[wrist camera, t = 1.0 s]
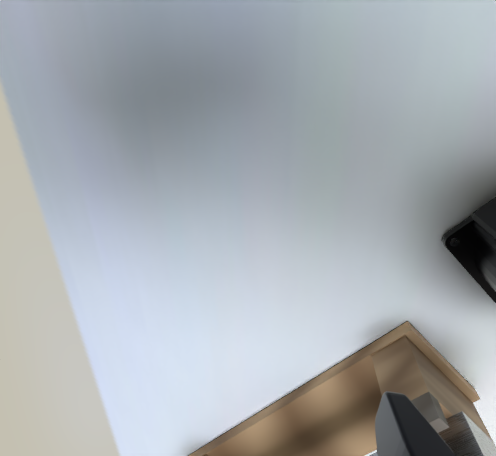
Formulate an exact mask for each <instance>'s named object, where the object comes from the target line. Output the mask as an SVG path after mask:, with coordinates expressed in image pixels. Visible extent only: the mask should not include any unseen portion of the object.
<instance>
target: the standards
mask: <svg viewBox="0 0 496 456" xmlns="http://www.w3.org/2000/svg"><path fill="white" fill-rule="evenodd" d="M386 391H389V392H396V393H402V394H404V395H406V396H407V397H408V398H409V399H410V401H411V402H412V403H413V404H414V405H415V407H416V408H417V409H418V410H419V411H420V413H421V414H422V415H423V416H424V417H425V418H426V420H427V421H428V422H429V423H430V424H431V426H432V427H433V428H434V429H435V430H436V432H437V433H439V432H441V431H443V430H445V429H447V428H449V425H448V423H447V420H446V419H447V418H449V417H451V416H453V415H455V414H457V413H459V412H461V411H463V412H464V413H465V414H466V415H467V416H468V417H469V418H470V419H471V420H472V421H473V422H474V423H475V424H476V425H477V426H478V427H479V428H480V429H481V430H482V431H483V432H484V433H485V434H486V435H487V436H488V437H489V438H490V439H491V437H490V435H489V433H488V431H487V429H486V427H485V425H484V423H483V421H482V420H481V418H480V416H479V414H478V412H477V410H476V408H475V406H474V404H473V402H475V401H477V400H479V399H480V398H479V396H478V394H477V392H476V391H475V389H474V388H473V387H472V386H471V385H470V384H469V383H468V382H467V381H466V380H465V379H464V378H463V377H462V376H461V375H460V374H459V373H458V372H457V371H456V370H455V369H454V368H453V367H452V366H451V365H450V364H449V363H448V362H447V361H446V359H445V358H444V357H443V356H442V355H441V354H440V353H439V352H438V351H437V350H436V349H435V348H434V347H433V346H432V345H431V344H430V343H429V342H428V341H427V340H426V339H425V338H424V337H423V336H422V335H421V334H420V333H419V332H418V331H417V330H416V329H415V328H414V327H413V326H412V325H411V324H410V323H409V322H408V321H407V322H405V323H404V324H402V325H400V326H399V327H397V328H396V329H394V330H392V331H391V332H389V333H387V334H386V335H384V336H383V337H381V338H379V339H378V340H376V341H374V342H373V343H371V344H370V345H368V346H366V347H365V348H363V349H361V350H360V351H358V352H356V353H355V354H353V355H352V356H350V357H348V358H347V359H345V360H343V361H342V362H340V363H339V364H337V365H335V366H334V367H332V368H330V369H329V370H327V371H326V372H324V373H322V374H321V375H319V376H317V377H316V378H314V379H312V380H311V381H309V382H308V383H306V384H304V385H303V386H301V387H299V388H298V389H296V390H295V391H293V392H291V393H290V394H288V395H286V396H285V397H283V398H282V399H280V400H278V401H277V402H275V403H273V404H272V405H270V406H268V407H267V408H265V409H264V410H262V411H260V412H259V413H257V414H255V415H254V416H252V417H251V418H249V419H247V420H246V421H244V422H242V423H241V424H239V425H238V426H236V427H234V428H233V429H231V430H229V431H228V432H226V433H224V434H223V435H221V436H220V437H218V438H216V439H215V440H213V441H211V442H210V443H208V444H207V445H205V446H203V447H202V448H200V449H198V450H197V451H195V452H194V453H192V454H190V455H189V456H364V455H366V454H368V453H370V452H372V451H374V450H376V449H377V445H376V434H375V419H376V415H377V411H378V408H379V405H380V402H381V399H382V396H383V394H384V392H386ZM491 440H492V439H491ZM492 441H493V440H492Z"/></svg>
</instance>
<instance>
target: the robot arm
mask: <svg viewBox="0 0 496 456" xmlns="http://www.w3.org/2000/svg"><path fill="white" fill-rule="evenodd" d="M453 238H457V240H456V242H454V243H450V241H451V240H452V239H453ZM442 242H443V244H444V245H445V246H446V248H447V249H448V250H449V251H450V252H451V253H452V254H453V255H454V257H455V258H456V259H457V260H458V261H459V262H460V263H461V265H462V266H463V267H464V268H465V269H466V270H467V271H468V272H469V274H470V275H471V276H472V277H473V278H474V279H475V280H476V281H477V283H478V284H479V285H480V286H481V287H482V288H483V289H484V290H485V292H486V293H487V294H488V295H489V296H490V297H491V298H492V299H493V301H494V302H495V303H496V197H495V198H494V199H492V200H491V201H489V202H488V203H487V204H485V205H484V206H482V207H481V208H479V209H478V210H476V211H475V212H474V214H473V215H472V216H470V217H469V218H468V219H466V220H465V221H463V222H462V223H460V224H459V225H457V226H456V227H454V228H453V229H451V230H450V231H449V232H447V233H446V234H445V235H444V236H443V239H442ZM375 434H376V445H377V455H378V456H457V455H456V454H455V453H454V452H453V451H452V449H451V448H450V447H449V446H448V445H447V443H446V442H445V441H444V440H443V439H442V438H441V436H440V435H439V434H438V433H437V432H436V430H435V429H434V428H433V427H432V426H431V424H430V423H429V422H428V421H427V420H426V418H425V417H424V416H423V415H422V414H421V413H420V411H419V410H418V409H417V408H416V407H415V405H414V404H413V403H412V402H411V401H410V399H409V398H408V397H407V396H406V395H404V394H402V393H396V392H389V391H386V392H384V394H383V396H382V399H381V402H380V405H379V408H378V411H377V415H376V419H375Z"/></svg>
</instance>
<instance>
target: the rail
mask: <svg viewBox="0 0 496 456" xmlns="http://www.w3.org/2000/svg"><path fill="white" fill-rule="evenodd" d="M446 420H447V423H448V425H449V428H447V429H445V430H443V431H441V432H439V433H438V434H439V435H440V436H441V438H442V439H443V440H444V441H445V442H446V443H447V445H448V446H449V447H450V448H451V449H452V451H453V452H454V453H455V454H456V455H457V456H496V446H495V444H494V442H493V441H492V440H491V439H490V438H489V437H488V436H487V435H486V434H485V433H484V432H483V431H482V430H481V429H480V428H479V427H478V426H477V425H476V424H475V423H474V422H473V421H472V420H471V419H470V418H469V417H468V416H467V415H466V414H465V413H464V412H463V411H461V412H459V413H457V414H455V415H453V416H451V417H449V418H447V419H446ZM370 456H378V455H377V452H376V453H374V454H372V455H370Z"/></svg>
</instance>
